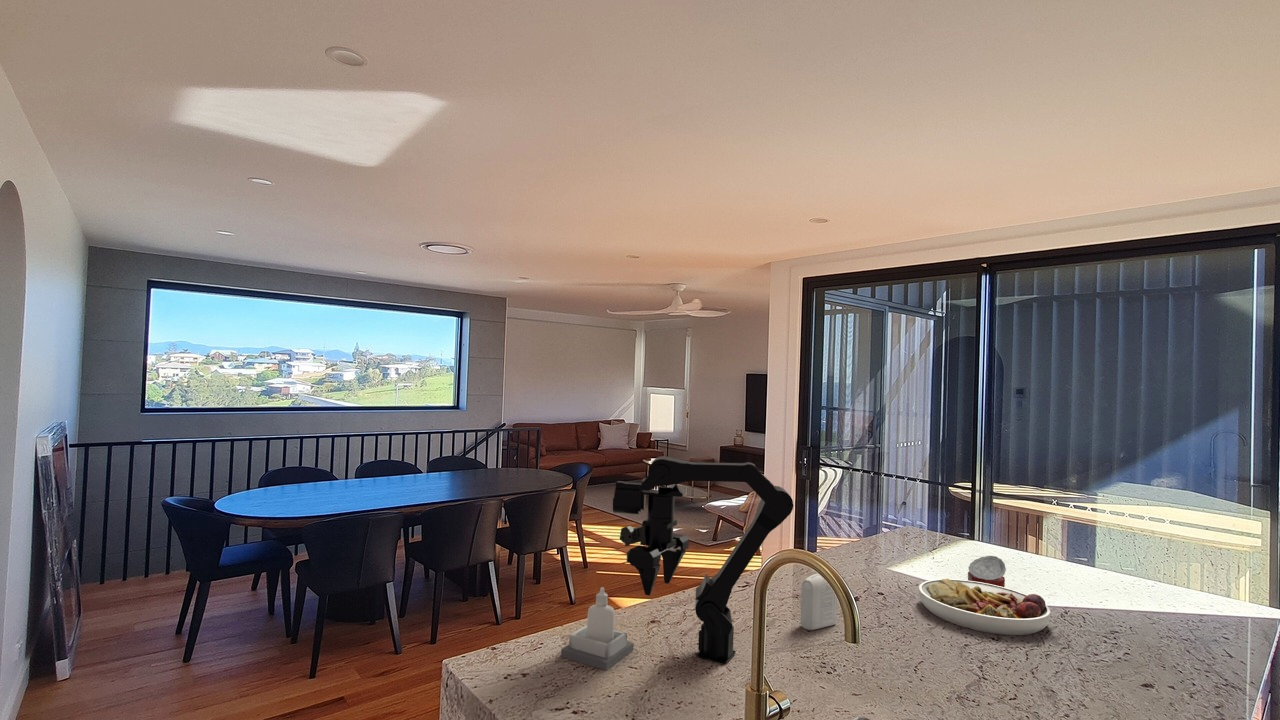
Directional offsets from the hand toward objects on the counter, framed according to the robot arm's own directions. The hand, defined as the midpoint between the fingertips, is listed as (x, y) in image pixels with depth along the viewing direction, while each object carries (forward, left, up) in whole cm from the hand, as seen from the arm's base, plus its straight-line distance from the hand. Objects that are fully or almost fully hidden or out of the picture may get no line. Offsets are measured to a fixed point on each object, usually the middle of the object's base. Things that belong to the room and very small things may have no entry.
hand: (657, 589), depth 130 cm
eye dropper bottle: (+9, +8, -12) cm, 17 cm away
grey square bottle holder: (+9, +8, -13) cm, 18 cm away
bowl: (-62, -67, -14) cm, 92 cm away
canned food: (-64, -98, -13) cm, 118 cm away
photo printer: (-27, -35, -13) cm, 46 cm away
